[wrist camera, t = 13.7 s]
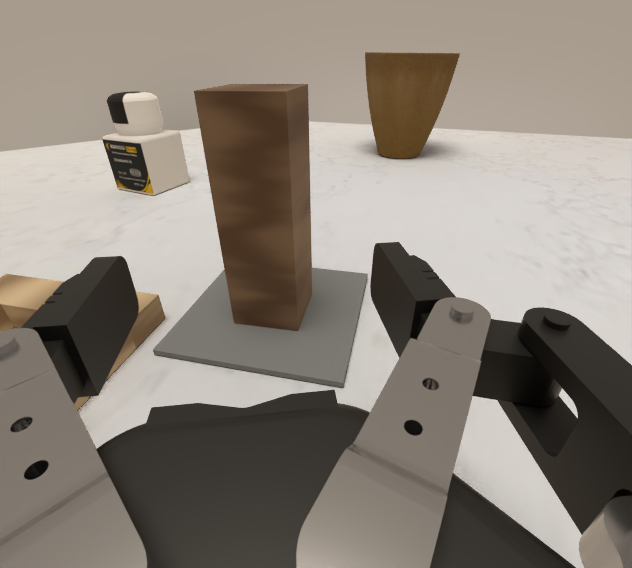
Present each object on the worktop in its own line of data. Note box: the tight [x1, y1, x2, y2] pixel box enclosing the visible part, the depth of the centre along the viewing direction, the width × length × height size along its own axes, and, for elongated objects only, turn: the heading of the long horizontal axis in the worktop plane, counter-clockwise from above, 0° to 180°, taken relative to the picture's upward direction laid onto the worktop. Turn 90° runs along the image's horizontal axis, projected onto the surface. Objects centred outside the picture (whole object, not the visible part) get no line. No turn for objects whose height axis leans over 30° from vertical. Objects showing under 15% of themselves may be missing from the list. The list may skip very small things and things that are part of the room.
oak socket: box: [0, 274, 165, 410], centre depth 21 cm, size 13×13×2 cm
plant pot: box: [365, 52, 460, 159], centre depth 62 cm, size 15×15×16 cm
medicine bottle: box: [102, 92, 189, 195], centre depth 49 cm, size 7×7×12 cm
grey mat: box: [153, 268, 368, 388], centre depth 26 cm, size 12×12×1 cm
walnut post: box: [194, 84, 312, 331], centre depth 22 cm, size 4×4×14 cm
